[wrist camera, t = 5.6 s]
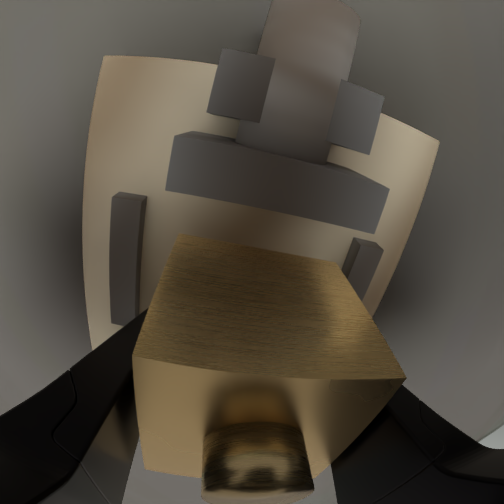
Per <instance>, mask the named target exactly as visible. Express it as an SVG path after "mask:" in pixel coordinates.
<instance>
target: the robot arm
mask: <svg viewBox="0 0 504 504" xmlns="http://www.w3.org/2000/svg"><path fill="white" fill-rule="evenodd" d="M148 309H149V307H148V308H147V309H146V310H144V311H143V312H142V313H141V314H139V315H138V316H137V317H135V318H134V319H133V320H131V321H130V322H129V323H127V324H126V325H125V326H124V327H122V328H121V329H120V330H118V331H117V332H116V333H115V334H113V335H112V336H111V337H109V338H108V339H107V340H106V341H104V342H103V343H102V344H100V345H99V346H98V347H97V348H95V349H94V350H93V351H91V352H90V353H89V354H88V355H86V356H85V357H84V358H83V359H81V360H80V361H79V362H77V363H76V364H75V365H74V366H72V367H71V368H70V371H69V370H67V371H66V372H65V373H63V374H62V375H61V376H60V377H58V378H57V379H56V380H54V381H53V382H52V383H50V384H49V385H48V386H46V387H45V388H44V389H42V390H41V391H39V392H38V393H36V394H35V395H33V396H32V397H30V398H29V399H27V400H25V401H24V402H22V403H20V404H19V405H17V406H16V407H14V408H12V409H11V410H9V411H7V412H6V413H4V414H2V415H1V416H0V504H122V500H123V496H124V492H125V488H126V484H127V480H128V476H129V472H130V469H131V465H132V461H133V457H134V454H135V450H136V447H137V443H138V439H139V436H140V435H139V427H138V419H137V411H136V401H135V391H134V378H133V363H132V354H133V351H134V348H135V345H136V342H137V339H138V337H139V334H140V331H141V328H142V325H143V322H144V320H145V317H146V314H147V311H148ZM331 468H332V474H333V479H334V485H335V491H336V497H337V503H338V504H504V449H492V448H488V447H485V446H483V445H481V444H480V443H478V442H477V441H475V440H474V439H472V438H471V437H469V436H468V435H466V434H465V433H463V432H462V431H460V430H459V429H458V428H456V427H455V426H453V425H452V424H450V423H449V422H448V421H446V420H445V419H444V418H442V417H441V416H440V415H438V414H437V413H436V412H434V411H433V410H432V409H431V408H429V407H428V406H427V405H426V404H425V403H423V402H422V401H419V398H417V397H416V396H415V395H414V394H413V393H411V392H410V391H409V390H408V389H407V388H405V387H404V386H403V385H401V386H400V387H399V389H398V390H397V391H396V393H395V394H394V395H393V396H392V398H391V399H390V400H389V401H388V403H387V404H386V405H385V406H384V407H383V409H382V410H381V411H380V412H379V413H378V415H377V416H376V417H375V418H374V419H373V420H372V421H371V423H370V424H369V425H368V426H367V427H366V428H365V429H364V430H363V431H362V433H361V434H360V435H359V436H358V437H357V438H356V439H355V440H354V441H353V442H352V443H351V444H350V445H349V446H348V447H347V448H346V449H345V450H344V451H343V452H342V453H341V454H340V455H339V456H338V457H337V458H336V459H335V460H334V461H333V462H332V463H331Z"/></svg>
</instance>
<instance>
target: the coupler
mask: <svg viewBox="0 0 504 504" xmlns="http://www.w3.org/2000/svg"><path fill="white" fill-rule="evenodd" d="M132 363H133V378H134V391H135V401H136V411H137V419H138V427H139V435H140V442H141V448H142V455H143V460H144V466H145V469H147V470H152V471H157V472H163V473H169V474H175V475H182V476H190V477H198V478H202V485H201V497H202V499H203V500H204V501H206V502H208V503H210V504H289V503H293V502H296V501H299V500H301V499H303V498H305V497H307V496H309V495H310V494H311V493H313V491H314V484H313V478H315V477H316V476H318V475H319V474H320V473H321V472H322V471H323V470H324V469H325V468H326V467H328V466H329V465H330V464H331V463H332V462H333V461H334V460H335V459H336V458H337V457H338V456H339V455H340V454H341V453H342V452H343V451H344V450H345V449H346V448H347V447H348V446H349V445H350V444H351V443H352V442H353V441H354V440H355V439H356V438H357V437H358V436H359V435H360V434H361V433H362V431H363V430H364V429H365V428H366V427H367V426H368V425H369V424H370V423H371V421H372V420H373V419H374V418H375V417H376V416H377V415H378V413H379V412H380V411H381V410H382V409H383V407H384V406H385V405H386V404H387V403H388V401H389V400H390V399H391V398H392V396H393V395H394V394H395V393H396V391H397V390H398V389H399V387H400V386H401V385H402V383H403V382H404V381H405V379H406V378H407V377H406V376H405V374H404V372H403V370H402V369H401V367H400V365H399V363H398V362H397V360H396V358H395V356H394V355H393V353H392V351H391V349H390V348H389V346H388V344H387V343H386V341H385V339H384V338H383V336H382V334H381V333H380V331H379V329H378V328H377V326H376V324H375V323H374V321H373V319H372V318H371V316H370V315H369V313H368V311H367V310H366V308H365V307H364V305H363V303H362V302H361V300H360V299H359V297H358V295H357V294H356V292H355V291H354V289H353V288H352V286H351V284H350V283H349V281H348V280H347V278H346V277H345V275H344V274H343V272H342V271H341V269H340V268H339V266H338V265H337V263H336V262H331V261H326V260H321V259H315V258H310V257H305V256H300V255H294V254H289V253H284V252H278V251H273V250H268V249H262V248H257V247H252V246H246V245H241V244H235V243H230V242H225V241H219V240H214V239H208V238H203V237H198V236H192V235H187V234H181V233H179V234H178V236H177V239H176V241H175V243H174V246H173V248H172V250H171V253H170V255H169V258H168V260H167V263H166V265H165V268H164V270H163V272H162V275H161V278H160V280H159V283H158V285H157V288H156V290H155V293H154V295H153V298H152V301H151V303H150V306H149V309H148V311H147V314H146V317H145V320H144V322H143V325H142V328H141V331H140V334H139V337H138V339H137V342H136V345H135V348H134V351H133V354H132Z"/></svg>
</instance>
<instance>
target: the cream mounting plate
mask: <svg viewBox="0 0 504 504" xmlns="http://www.w3.org/2000/svg"><path fill="white" fill-rule="evenodd" d="M360 24H361V20H360V17H359V16H358V14H357V13H356V12H355V11H354V10H353V9H352V8H350V7H349V6H347V5H346V4H344V3H342V2H340V1H338V0H272V2H271V6H270V9H269V13H268V16H267V20H266V23H265V27H264V30H263V34H262V37H261V41H260V45H259V48H258V52H257V54H253V53H249V52H244V51H239V50H234V49H228V48H222V52H221V55H220V59H219V63H218V65H215V64H209V63H202V62H195V61H187V60H178V59H168V58H157V57H141V56H104V58H103V62H102V66H101V70H100V74H99V79H98V83H97V88H96V93H95V98H94V104H93V109H92V115H91V122H90V128H89V136H88V144H87V152H86V162H85V174H84V189H83V216H82V243H83V271H84V286H85V298H86V308H87V317H88V325H89V332H90V339H91V346H92V351H93V350H94V349H95V348H97V347H98V346H99V345H100V344H102V343H103V342H104V341H106V340H107V339H108V338H109V337H111V336H112V335H113V334H115V333H116V332H117V331H118V330H120V329H121V328H122V327H124V326H125V325H126V324H127V323H129V322H130V321H131V320H133V319H134V318H135V317H137V316H138V315H139V314H141V313H142V312H143V311H144V310H146V309H147V308H148V307H149V306H150V303H151V301H152V298H153V295H154V293H155V290H156V288H157V285H158V283H159V280H160V278H161V275H162V272H163V270H164V268H165V265H166V263H167V260H168V258H169V255H170V253H171V250H172V248H173V246H174V243H175V241H176V239H177V236H178V234H179V233H181V234H187V235H192V236H198V237H203V238H208V239H214V240H219V241H225V242H230V243H235V244H241V245H246V246H252V247H257V248H262V249H268V250H273V251H278V252H284V253H289V254H294V255H300V256H305V257H310V258H315V259H321V260H326V261H331V262H336V263H337V265H338V266H339V268H340V269H341V271H342V272H343V274H344V275H345V277H346V278H347V280H348V281H349V283H350V284H351V286H352V288H353V289H354V291H355V292H356V294H357V295H358V297H359V299H360V300H361V302H362V303H363V305H364V307H365V308H366V310H367V311H368V313H369V315H370V316H371V318H372V317H373V315H374V313H375V311H376V309H377V307H378V305H379V303H380V301H381V299H382V297H383V295H384V293H385V291H386V289H387V286H388V284H389V282H390V280H391V278H392V275H393V273H394V271H395V269H396V266H397V264H398V262H399V259H400V257H401V255H402V252H403V250H404V247H405V245H406V243H407V240H408V237H409V235H410V232H411V230H412V227H413V224H414V222H415V219H416V216H417V214H418V211H419V208H420V205H421V202H422V199H423V196H424V193H425V190H426V187H427V184H428V181H429V178H430V174H431V171H432V168H433V164H434V161H435V157H436V154H437V150H438V146H439V142H440V141H438V140H436V139H434V138H432V137H430V136H429V135H427V134H425V133H423V132H421V131H419V130H417V129H415V128H413V127H411V126H409V125H407V124H405V123H402V122H400V121H398V120H396V119H394V118H392V117H389V116H387V115H385V114H382V113H381V110H382V106H383V102H384V98H385V97H384V96H382V95H379V94H377V93H375V92H372V91H370V90H368V89H365V88H363V87H360V86H358V85H355V84H353V83H350V82H348V77H349V73H350V69H351V65H352V60H353V56H354V51H355V47H356V42H357V38H358V33H359V28H360Z"/></svg>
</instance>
